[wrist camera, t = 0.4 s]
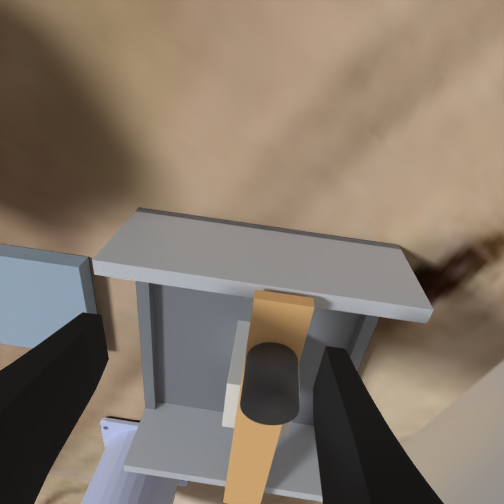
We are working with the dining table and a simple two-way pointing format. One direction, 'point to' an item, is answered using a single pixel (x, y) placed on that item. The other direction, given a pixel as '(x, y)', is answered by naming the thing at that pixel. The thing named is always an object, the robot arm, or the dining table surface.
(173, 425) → the case
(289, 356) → the bar
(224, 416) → the block
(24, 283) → the pad
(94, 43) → the dining table surface
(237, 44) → the dining table surface
